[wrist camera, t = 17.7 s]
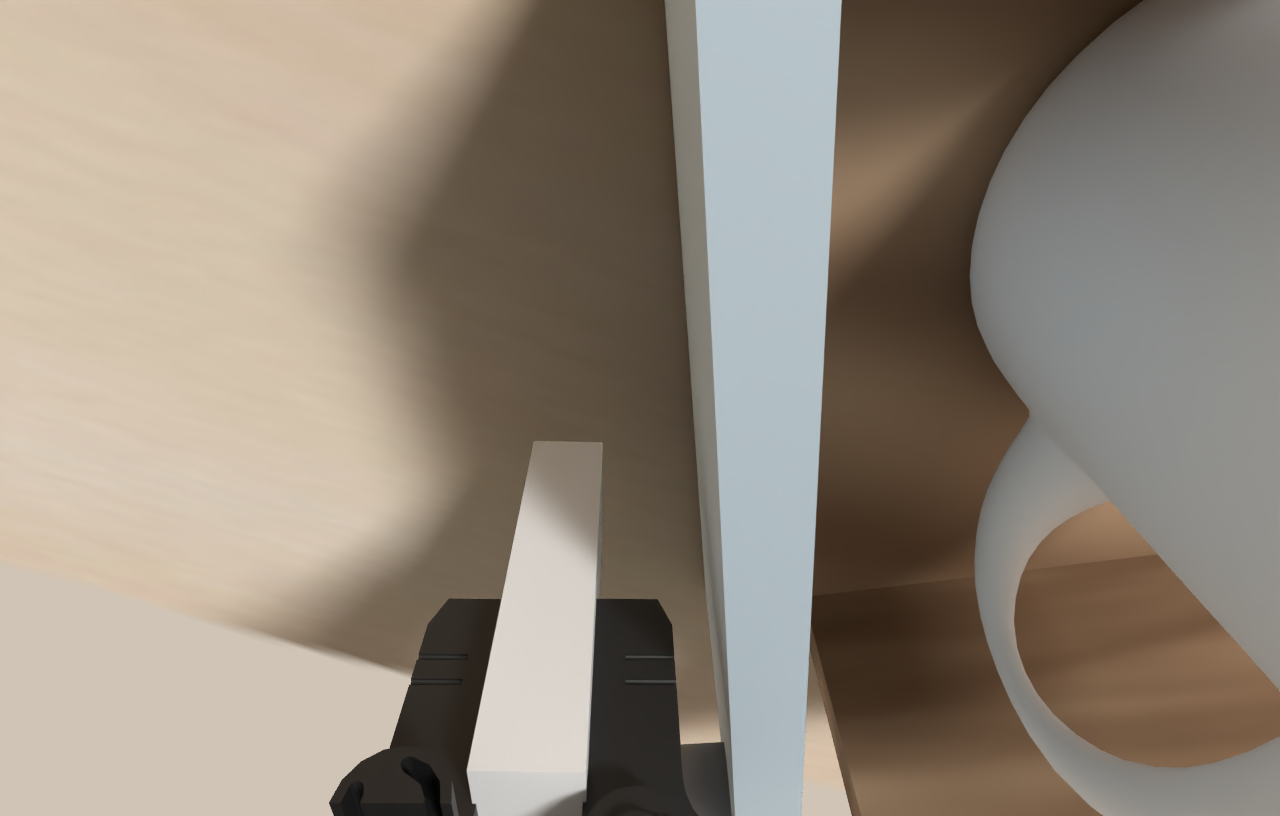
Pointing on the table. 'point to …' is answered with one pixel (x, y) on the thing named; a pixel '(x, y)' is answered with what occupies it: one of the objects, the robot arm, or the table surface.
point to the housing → (972, 461)
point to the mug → (1144, 352)
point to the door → (755, 364)
